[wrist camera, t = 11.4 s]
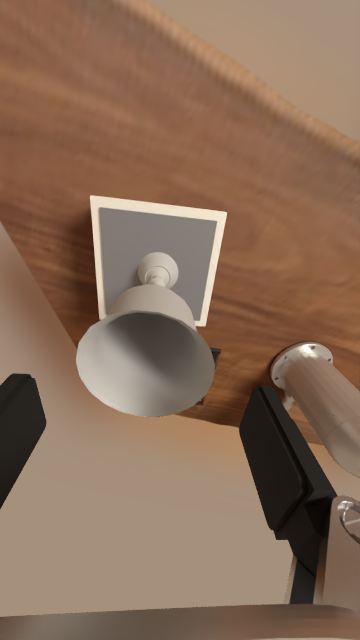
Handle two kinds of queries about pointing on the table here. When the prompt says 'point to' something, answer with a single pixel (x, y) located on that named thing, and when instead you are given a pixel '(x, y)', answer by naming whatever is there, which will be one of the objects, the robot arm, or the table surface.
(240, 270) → the table surface
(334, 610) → the robot arm
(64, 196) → the table surface
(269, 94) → the table surface
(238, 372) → the table surface
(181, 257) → the display plinth
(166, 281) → the chalice
